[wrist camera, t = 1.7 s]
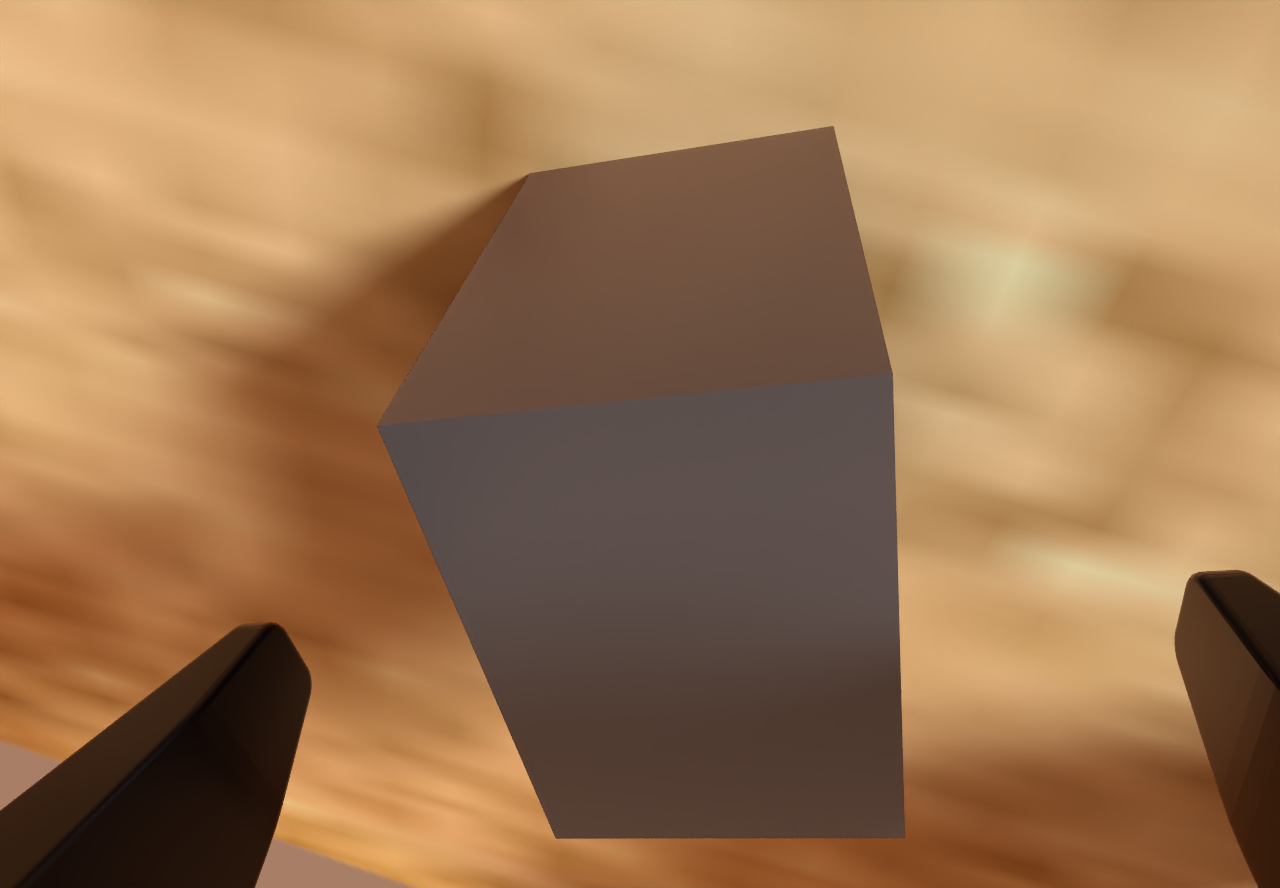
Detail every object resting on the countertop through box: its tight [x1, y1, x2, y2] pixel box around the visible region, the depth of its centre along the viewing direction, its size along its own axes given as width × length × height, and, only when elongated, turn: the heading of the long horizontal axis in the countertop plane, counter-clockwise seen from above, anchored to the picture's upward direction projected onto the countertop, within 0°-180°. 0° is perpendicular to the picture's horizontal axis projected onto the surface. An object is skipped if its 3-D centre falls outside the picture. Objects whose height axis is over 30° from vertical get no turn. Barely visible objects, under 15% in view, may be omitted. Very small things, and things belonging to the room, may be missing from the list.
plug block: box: [377, 126, 905, 839], centre depth 11 cm, size 4×6×6 cm, turn 11°
